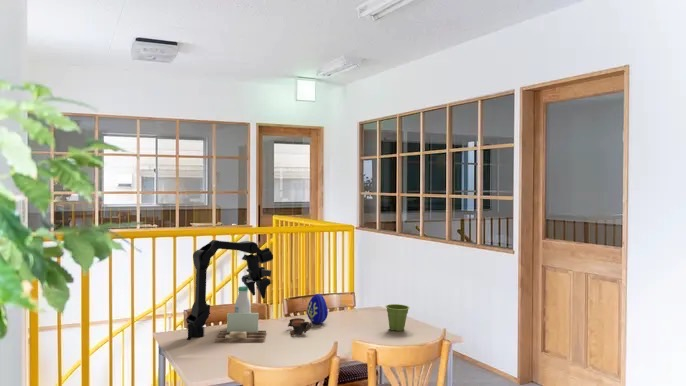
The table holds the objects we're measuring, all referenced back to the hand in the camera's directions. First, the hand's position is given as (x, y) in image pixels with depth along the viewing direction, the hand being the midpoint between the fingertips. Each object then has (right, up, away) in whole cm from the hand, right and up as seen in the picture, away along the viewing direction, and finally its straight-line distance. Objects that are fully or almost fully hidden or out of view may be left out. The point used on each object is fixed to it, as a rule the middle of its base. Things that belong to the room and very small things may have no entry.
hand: (258, 296), depth 264 cm
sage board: (-5, -14, -18) cm, 23 cm away
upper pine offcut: (-5, -12, -27) cm, 30 cm away
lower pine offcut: (-6, -14, -27) cm, 31 cm away
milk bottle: (-8, -15, -2) cm, 17 cm away
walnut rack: (-4, -15, -22) cm, 27 cm away
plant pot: (+68, -16, +1) cm, 70 cm away
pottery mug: (+21, -16, -10) cm, 28 cm away
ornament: (+29, -16, +10) cm, 34 cm away
